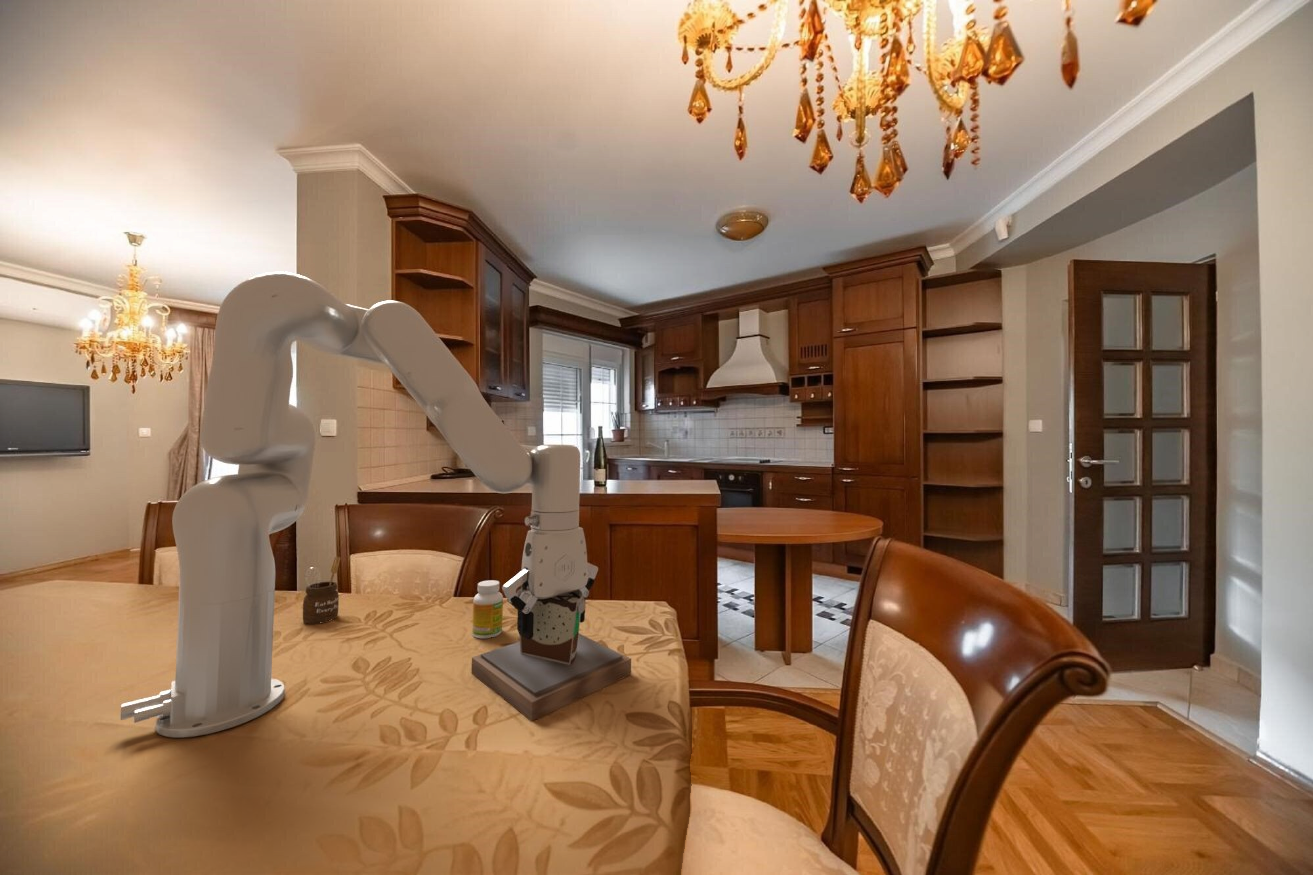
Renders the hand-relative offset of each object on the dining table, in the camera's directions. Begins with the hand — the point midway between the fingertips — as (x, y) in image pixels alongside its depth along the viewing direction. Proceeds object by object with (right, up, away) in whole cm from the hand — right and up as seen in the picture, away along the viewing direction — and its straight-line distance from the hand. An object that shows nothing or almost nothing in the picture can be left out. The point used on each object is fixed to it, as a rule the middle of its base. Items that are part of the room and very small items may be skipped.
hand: (552, 627), depth 73 cm
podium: (0, -7, 0) cm, 7 cm away
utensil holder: (-52, -7, +21) cm, 57 cm away
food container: (0, -4, +1) cm, 5 cm away
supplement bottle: (-16, -8, +15) cm, 23 cm away
